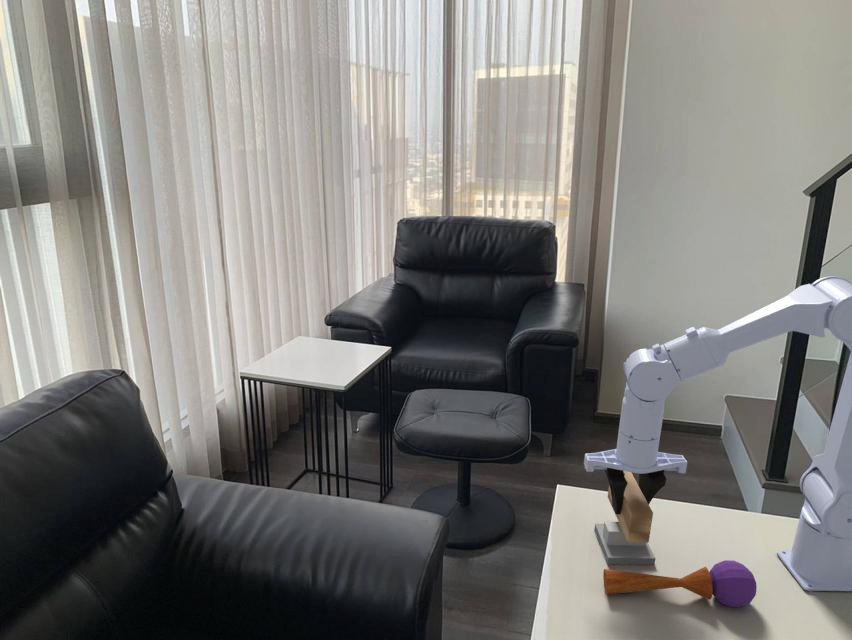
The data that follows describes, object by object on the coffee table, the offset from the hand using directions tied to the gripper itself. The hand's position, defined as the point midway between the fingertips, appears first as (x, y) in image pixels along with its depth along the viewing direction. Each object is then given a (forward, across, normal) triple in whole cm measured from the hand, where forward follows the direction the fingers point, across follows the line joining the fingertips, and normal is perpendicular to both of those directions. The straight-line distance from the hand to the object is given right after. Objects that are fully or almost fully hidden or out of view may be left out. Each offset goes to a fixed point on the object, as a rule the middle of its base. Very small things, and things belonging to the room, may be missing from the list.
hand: (628, 510), depth 96 cm
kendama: (+7, -5, +10) cm, 13 cm away
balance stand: (+7, 0, 0) cm, 7 cm away
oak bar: (+1, 0, 0) cm, 1 cm away
